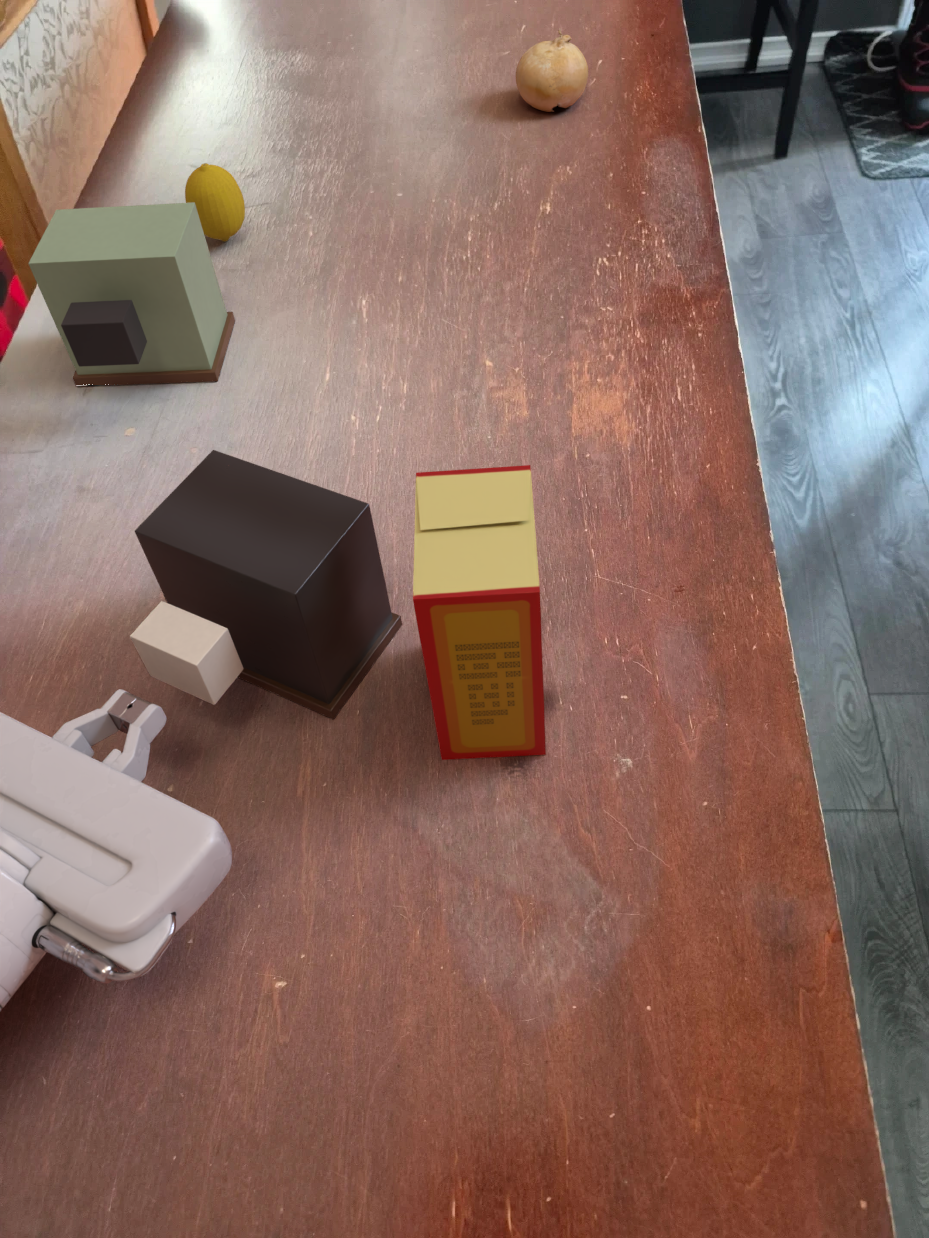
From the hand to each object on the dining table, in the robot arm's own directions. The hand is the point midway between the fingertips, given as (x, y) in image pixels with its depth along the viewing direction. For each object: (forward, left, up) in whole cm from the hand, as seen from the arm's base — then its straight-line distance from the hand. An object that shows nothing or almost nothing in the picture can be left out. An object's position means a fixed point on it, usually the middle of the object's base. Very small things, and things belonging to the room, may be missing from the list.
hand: (144, 703), depth 61 cm
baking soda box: (+19, +6, -8) cm, 22 cm away
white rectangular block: (+2, +4, -2) cm, 5 cm away
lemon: (-9, +62, -8) cm, 63 cm away
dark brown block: (-12, +36, -2) cm, 38 cm away
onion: (+24, +87, -8) cm, 91 cm away
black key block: (+5, +11, -8) cm, 15 cm away
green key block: (-12, +44, -8) cm, 46 cm away
